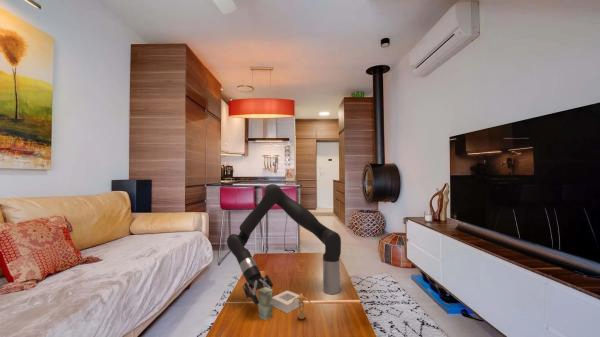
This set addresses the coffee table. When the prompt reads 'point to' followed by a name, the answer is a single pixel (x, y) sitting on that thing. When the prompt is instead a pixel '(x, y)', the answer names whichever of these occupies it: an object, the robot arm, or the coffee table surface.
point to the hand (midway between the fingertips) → (265, 300)
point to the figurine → (301, 312)
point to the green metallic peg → (265, 303)
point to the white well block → (286, 301)
